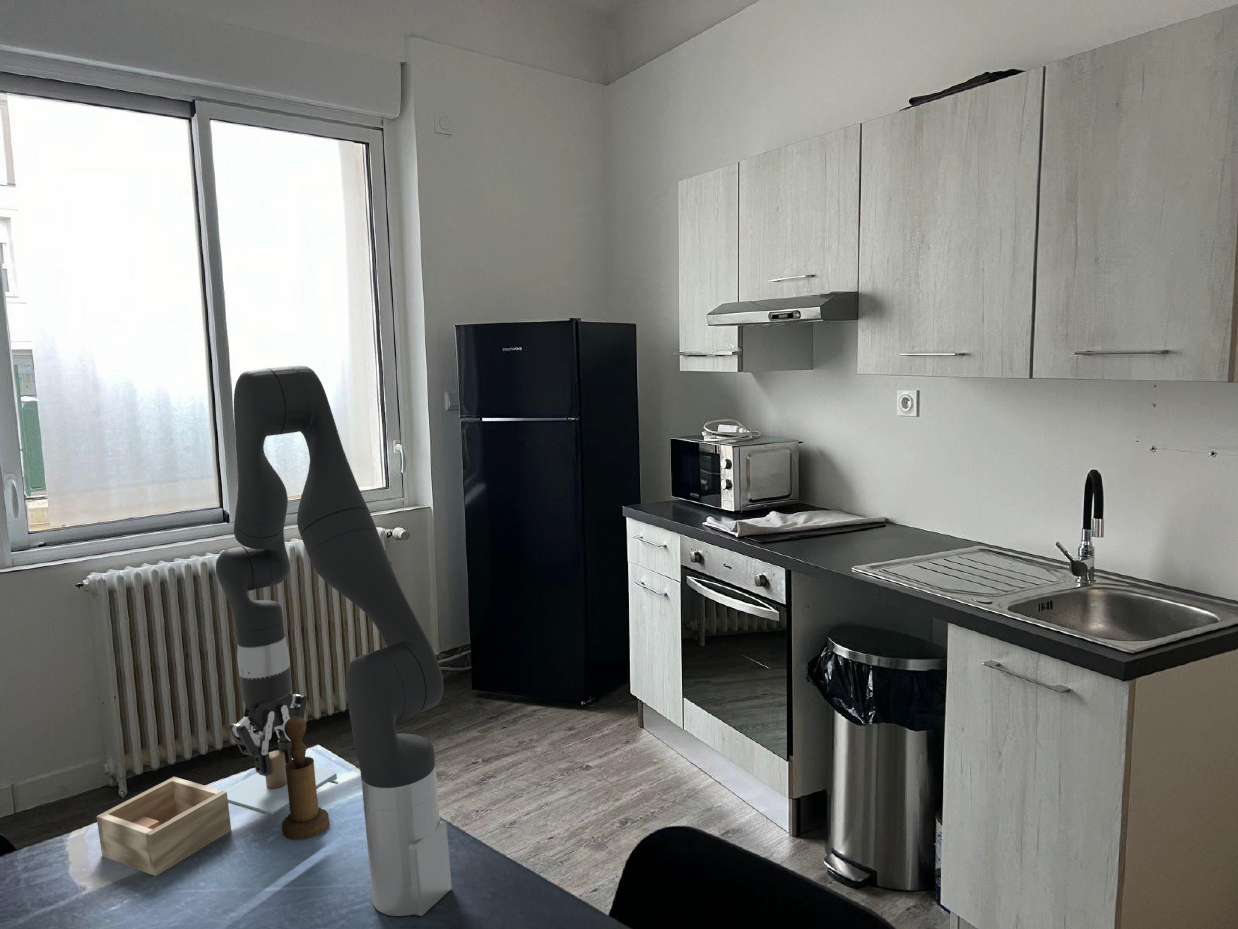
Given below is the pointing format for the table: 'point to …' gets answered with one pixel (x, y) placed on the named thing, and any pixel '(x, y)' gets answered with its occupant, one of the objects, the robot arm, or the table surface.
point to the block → (147, 822)
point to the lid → (270, 787)
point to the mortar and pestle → (301, 789)
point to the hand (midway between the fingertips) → (275, 767)
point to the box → (164, 825)
